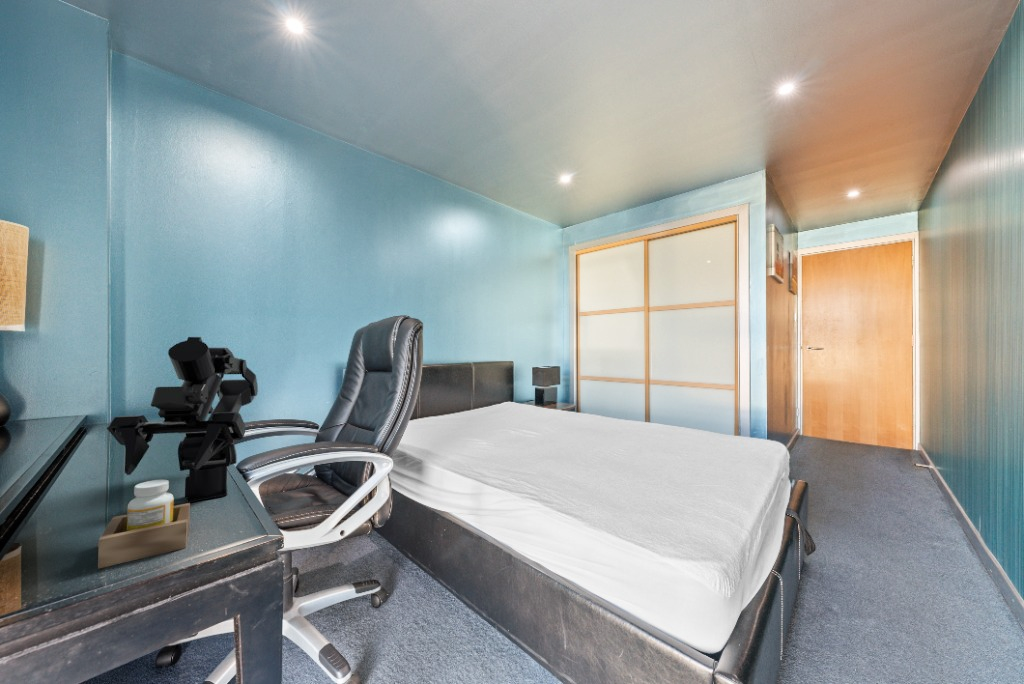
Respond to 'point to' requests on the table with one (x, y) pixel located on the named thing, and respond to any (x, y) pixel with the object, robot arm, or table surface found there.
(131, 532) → the walnut holder
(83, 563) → the table surface
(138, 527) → the supplement bottle
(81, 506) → the table surface
